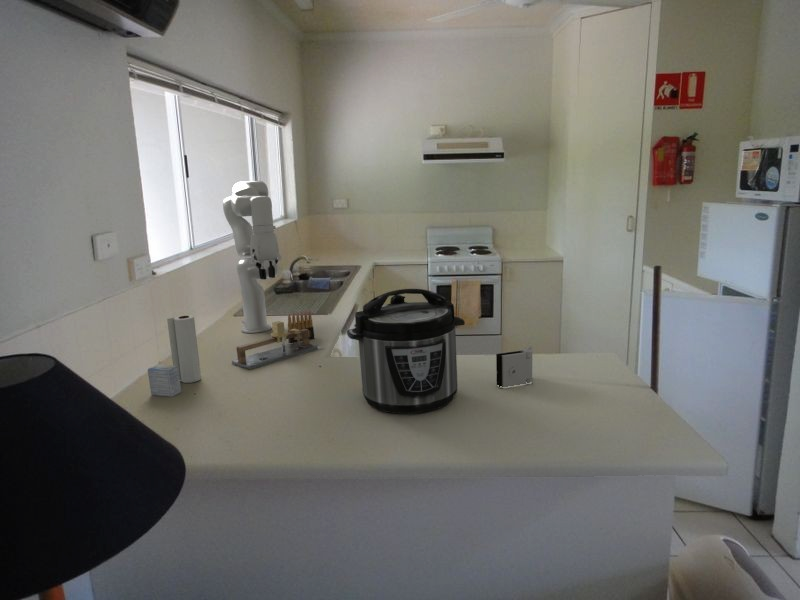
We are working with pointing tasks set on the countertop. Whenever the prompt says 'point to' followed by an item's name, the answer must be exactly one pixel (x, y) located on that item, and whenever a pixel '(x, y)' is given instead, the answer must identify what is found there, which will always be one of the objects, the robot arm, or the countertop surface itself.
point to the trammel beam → (293, 333)
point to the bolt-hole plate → (274, 355)
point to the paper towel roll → (184, 347)
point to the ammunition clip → (300, 325)
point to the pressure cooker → (407, 352)
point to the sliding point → (279, 333)
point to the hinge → (514, 367)
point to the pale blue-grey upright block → (164, 380)
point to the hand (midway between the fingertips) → (267, 277)
